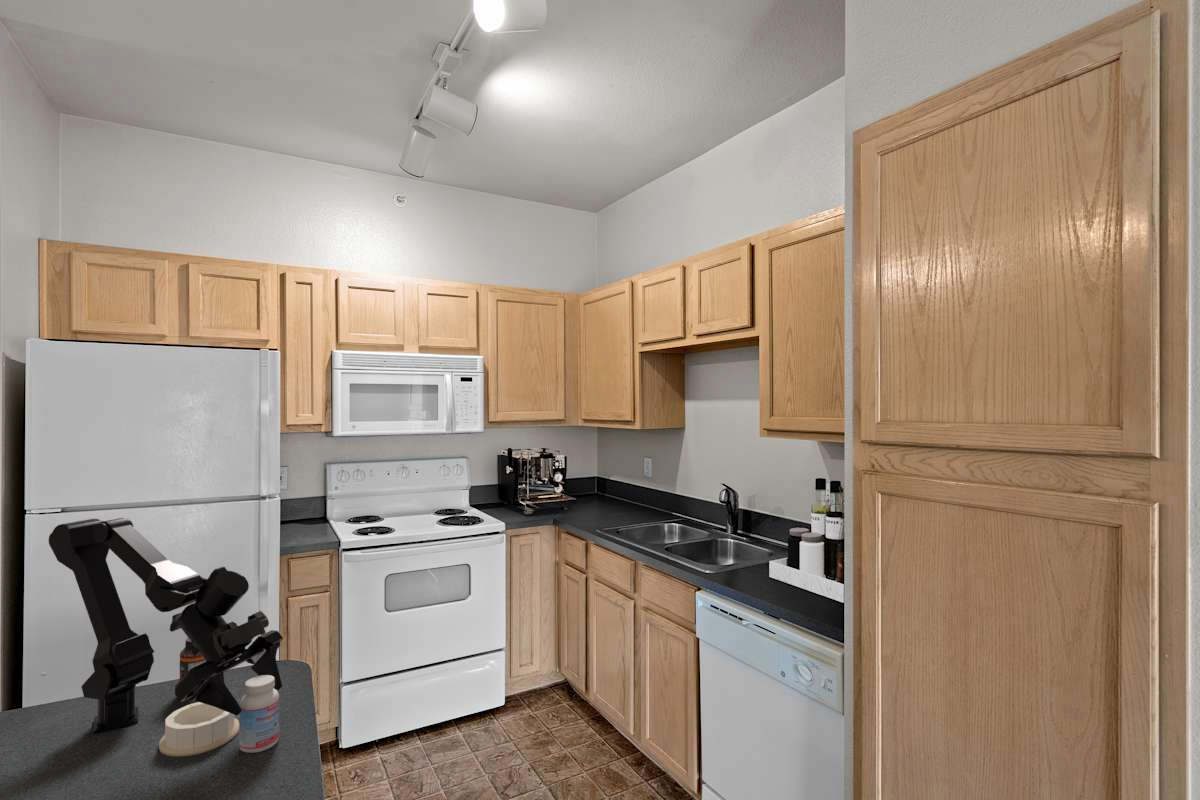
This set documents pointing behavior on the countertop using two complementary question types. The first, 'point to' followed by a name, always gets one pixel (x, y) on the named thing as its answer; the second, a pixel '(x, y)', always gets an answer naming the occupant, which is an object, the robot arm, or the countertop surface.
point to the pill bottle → (259, 715)
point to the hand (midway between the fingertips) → (260, 700)
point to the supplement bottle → (189, 658)
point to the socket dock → (197, 730)
